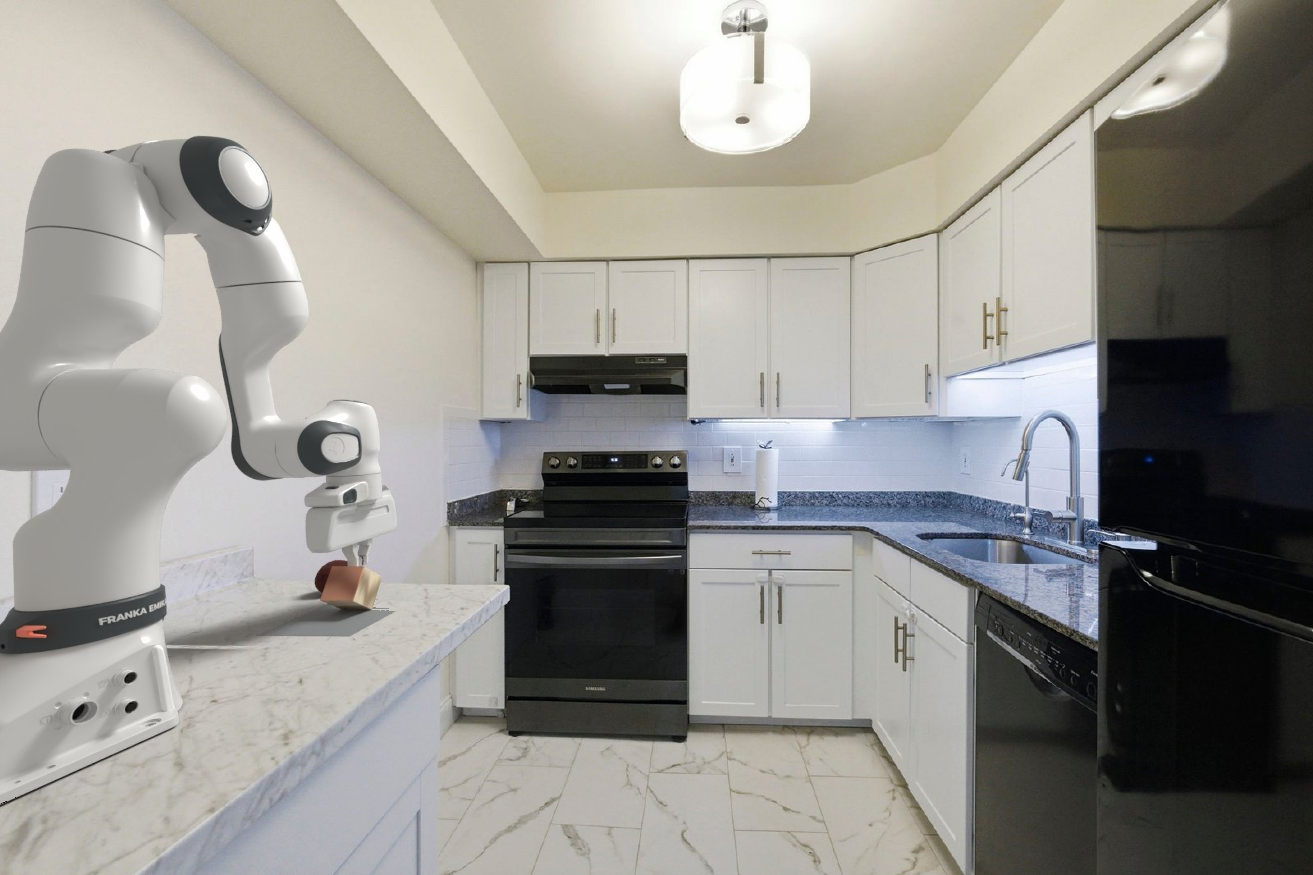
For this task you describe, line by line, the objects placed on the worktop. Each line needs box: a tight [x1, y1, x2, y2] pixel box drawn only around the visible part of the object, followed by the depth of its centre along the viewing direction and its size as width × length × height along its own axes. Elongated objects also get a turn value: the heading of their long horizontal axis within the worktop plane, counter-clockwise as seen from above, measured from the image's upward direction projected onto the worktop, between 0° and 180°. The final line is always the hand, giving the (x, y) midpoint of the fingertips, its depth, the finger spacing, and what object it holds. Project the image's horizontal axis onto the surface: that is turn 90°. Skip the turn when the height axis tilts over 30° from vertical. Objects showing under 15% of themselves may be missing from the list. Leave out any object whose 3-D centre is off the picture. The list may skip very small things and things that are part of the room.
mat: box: [255, 603, 395, 637], centre depth 94 cm, size 19×16×1 cm
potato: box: [314, 559, 348, 594], centre depth 110 cm, size 7×8×7 cm
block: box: [319, 565, 383, 610], centre depth 97 cm, size 6×6×6 cm
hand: (358, 566), depth 98 cm, fingers closed
